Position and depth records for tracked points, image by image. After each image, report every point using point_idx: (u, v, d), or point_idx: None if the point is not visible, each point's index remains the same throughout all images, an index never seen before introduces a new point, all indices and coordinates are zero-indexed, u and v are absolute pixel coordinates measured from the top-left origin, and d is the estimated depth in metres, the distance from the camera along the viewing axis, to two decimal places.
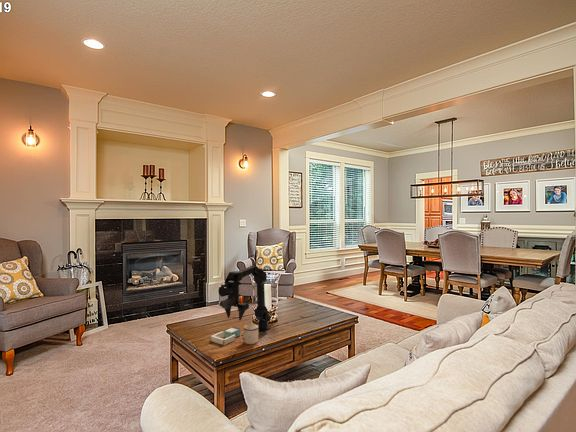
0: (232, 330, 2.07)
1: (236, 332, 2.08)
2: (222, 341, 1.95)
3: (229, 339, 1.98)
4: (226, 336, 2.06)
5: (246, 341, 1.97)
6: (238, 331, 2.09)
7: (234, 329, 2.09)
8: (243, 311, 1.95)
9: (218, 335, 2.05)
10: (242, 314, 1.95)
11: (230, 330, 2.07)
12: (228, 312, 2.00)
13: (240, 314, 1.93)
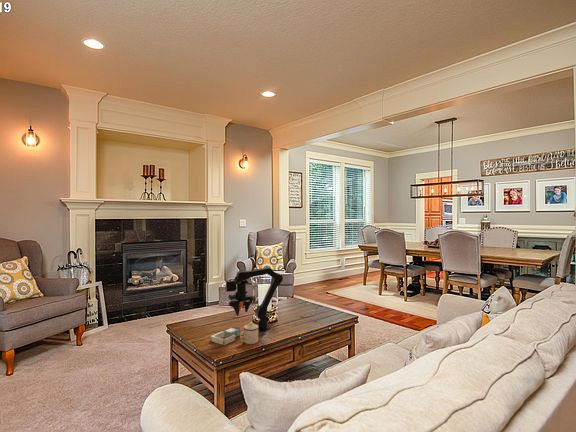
0: (232, 330, 2.07)
1: (236, 332, 2.07)
2: (222, 341, 1.95)
3: (229, 339, 1.98)
4: (226, 336, 2.06)
5: (246, 341, 1.97)
6: (238, 331, 2.09)
7: (234, 329, 2.09)
8: (237, 308, 2.10)
9: (218, 335, 2.05)
10: (237, 311, 2.11)
11: (230, 330, 2.07)
12: (245, 307, 2.19)
13: (234, 309, 2.11)
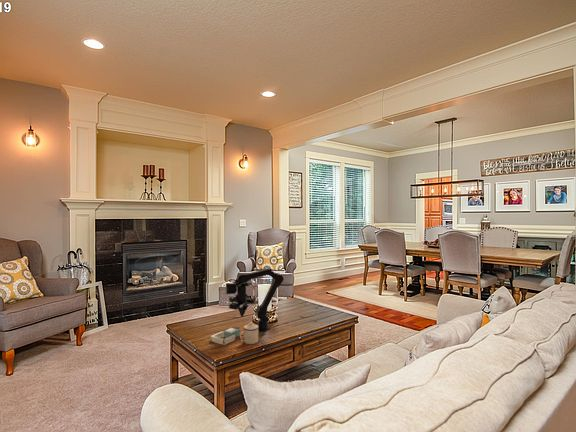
0: (232, 330, 2.07)
1: (236, 332, 2.07)
2: (222, 341, 1.95)
3: (229, 339, 1.98)
4: (226, 336, 2.06)
5: (246, 341, 1.97)
6: (238, 331, 2.09)
7: (234, 329, 2.09)
8: (241, 309, 2.14)
9: (218, 335, 2.05)
10: (241, 312, 2.15)
11: (230, 330, 2.07)
12: None
13: None
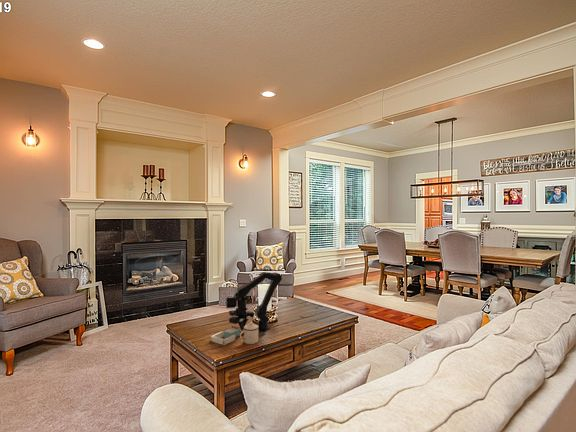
0: (232, 330, 2.07)
1: (236, 332, 2.07)
2: (222, 341, 1.95)
3: (229, 339, 1.98)
4: (226, 336, 2.06)
5: (246, 341, 1.97)
6: (238, 331, 2.09)
7: (234, 329, 2.09)
8: (241, 323, 2.14)
9: (218, 335, 2.05)
10: (241, 325, 2.15)
11: (230, 330, 2.07)
12: None
13: None
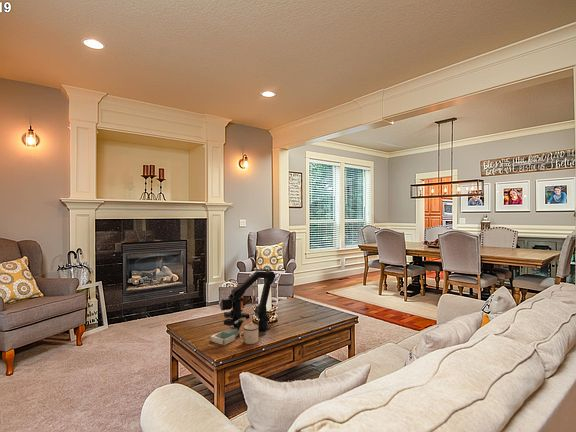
0: (229, 330, 2.06)
1: (233, 332, 2.06)
2: (222, 341, 1.95)
3: (229, 339, 1.98)
4: (223, 336, 2.05)
5: (246, 341, 1.97)
6: (236, 331, 2.08)
7: (232, 329, 2.08)
8: (236, 325, 2.10)
9: (218, 335, 2.05)
10: (236, 327, 2.11)
11: (227, 330, 2.06)
12: None
13: None
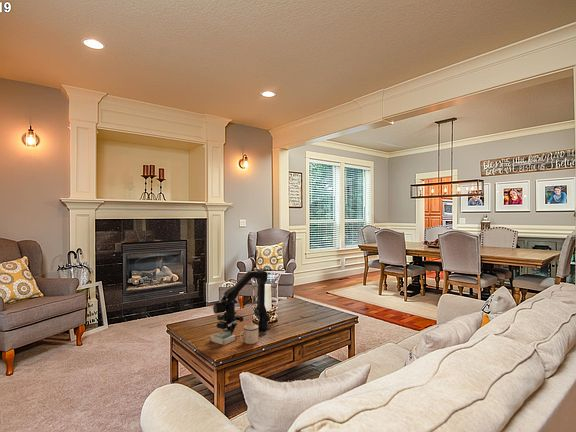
0: (222, 333, 2.01)
1: (227, 335, 2.01)
2: (222, 341, 1.95)
3: (229, 339, 1.98)
4: None
5: (246, 341, 1.97)
6: (229, 334, 2.03)
7: (225, 332, 2.03)
8: (229, 328, 2.05)
9: None
10: (229, 330, 2.06)
11: (220, 333, 2.01)
12: None
13: (227, 329, 2.07)
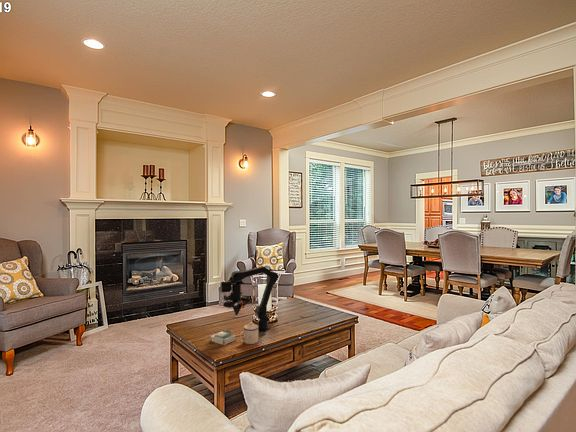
0: (222, 334, 2.01)
1: (226, 336, 2.01)
2: (222, 341, 1.95)
3: (229, 339, 1.98)
4: None
5: (246, 341, 1.97)
6: (229, 335, 2.03)
7: (225, 333, 2.03)
8: (236, 308, 2.11)
9: None
10: (235, 310, 2.12)
11: (220, 334, 2.01)
12: None
13: None
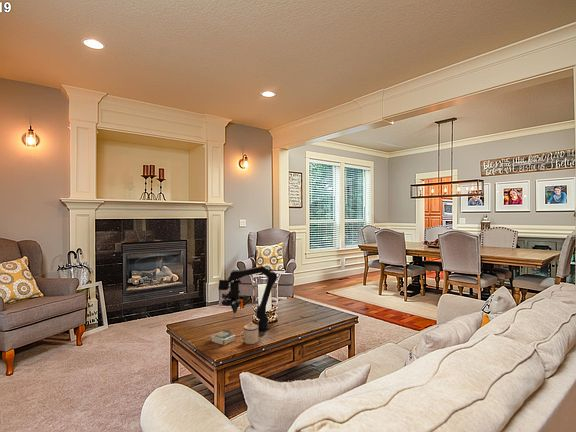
0: (222, 334, 2.01)
1: (227, 336, 2.01)
2: (222, 341, 1.95)
3: (229, 339, 1.98)
4: None
5: (246, 341, 1.97)
6: (229, 335, 2.03)
7: (225, 333, 2.03)
8: (234, 306, 2.15)
9: None
10: (233, 308, 2.16)
11: (220, 334, 2.01)
12: None
13: None
